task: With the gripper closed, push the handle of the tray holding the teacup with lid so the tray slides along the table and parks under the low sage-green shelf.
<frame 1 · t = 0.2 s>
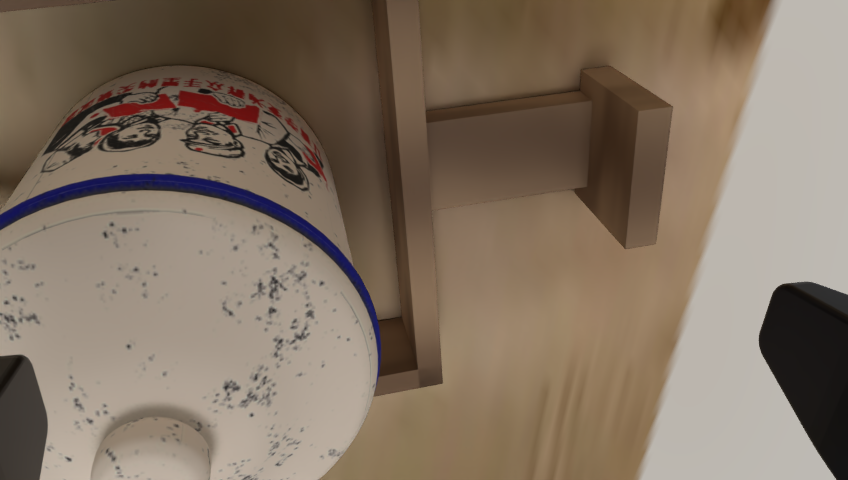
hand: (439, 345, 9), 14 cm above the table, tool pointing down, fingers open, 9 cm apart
tray: (256, 208, 21), point 2 cm above the table, slide at 0.0 cm
teacup with lid: (147, 191, 22), resting in tray
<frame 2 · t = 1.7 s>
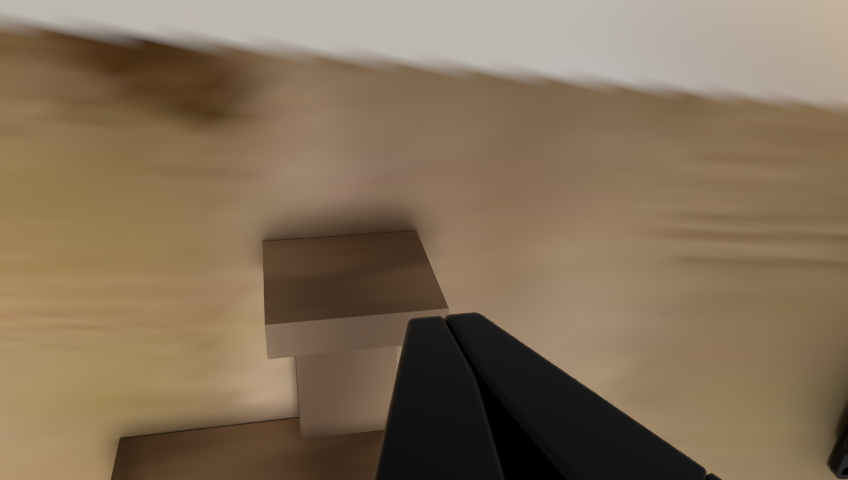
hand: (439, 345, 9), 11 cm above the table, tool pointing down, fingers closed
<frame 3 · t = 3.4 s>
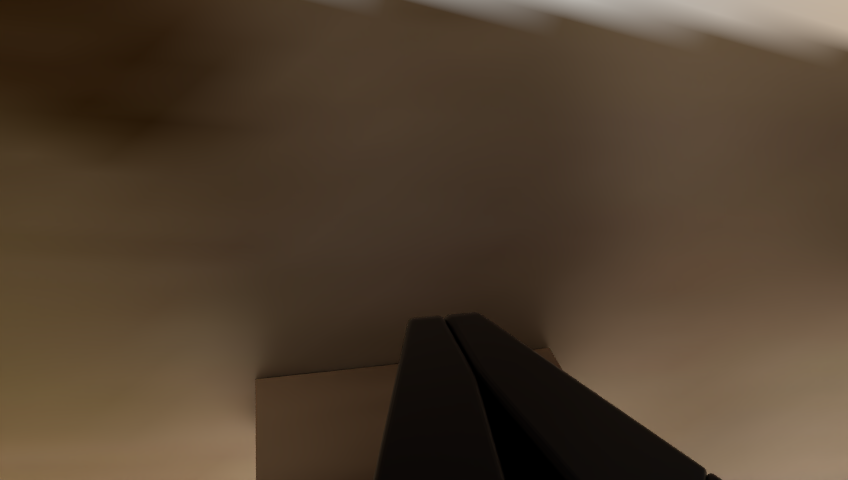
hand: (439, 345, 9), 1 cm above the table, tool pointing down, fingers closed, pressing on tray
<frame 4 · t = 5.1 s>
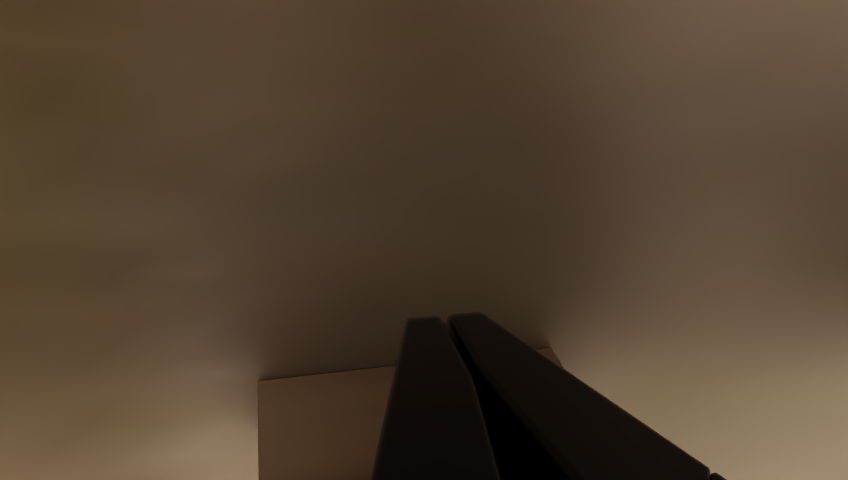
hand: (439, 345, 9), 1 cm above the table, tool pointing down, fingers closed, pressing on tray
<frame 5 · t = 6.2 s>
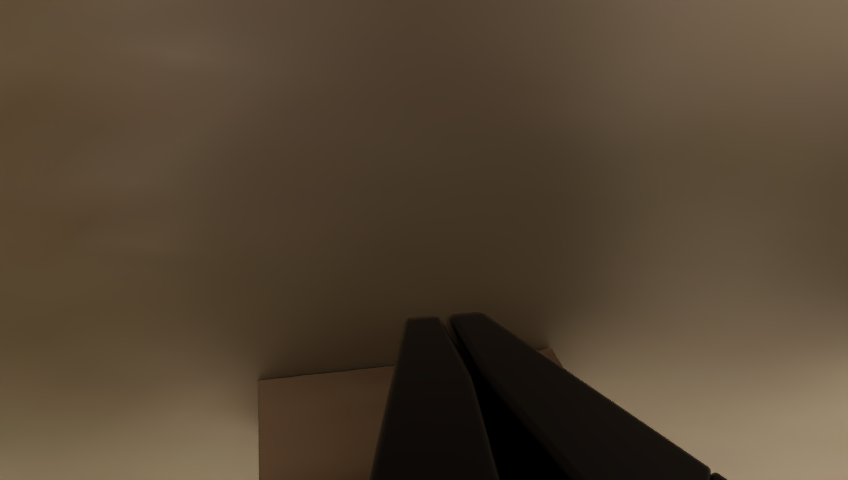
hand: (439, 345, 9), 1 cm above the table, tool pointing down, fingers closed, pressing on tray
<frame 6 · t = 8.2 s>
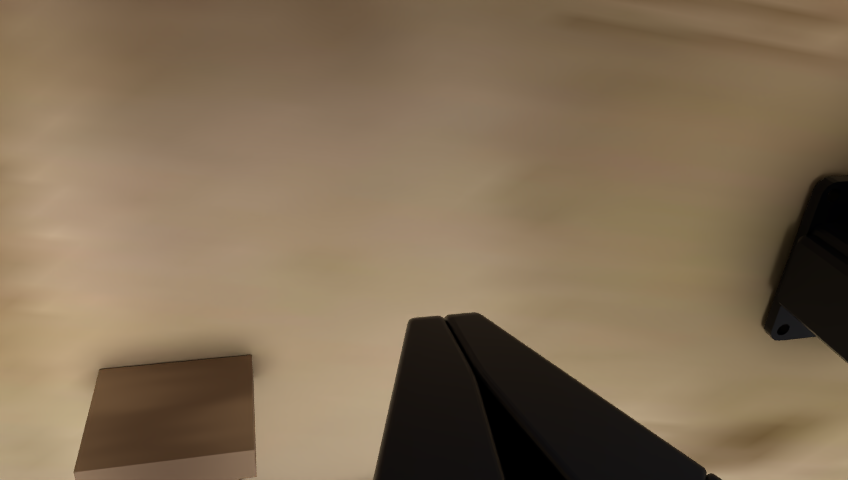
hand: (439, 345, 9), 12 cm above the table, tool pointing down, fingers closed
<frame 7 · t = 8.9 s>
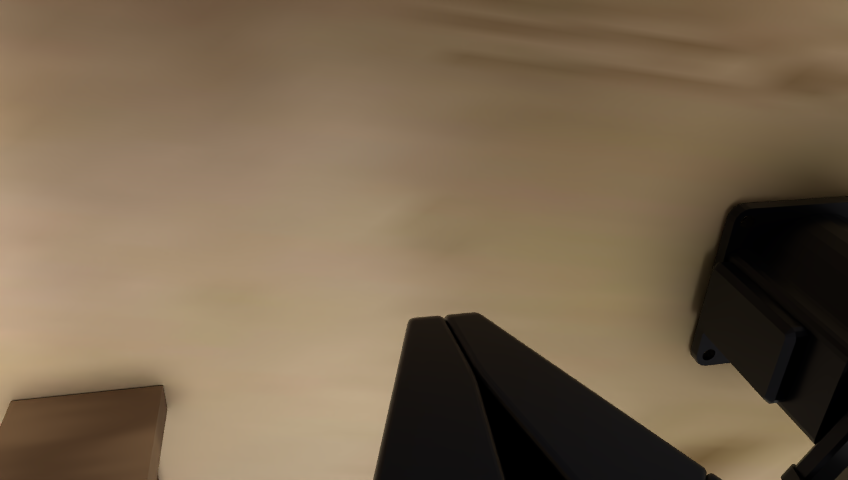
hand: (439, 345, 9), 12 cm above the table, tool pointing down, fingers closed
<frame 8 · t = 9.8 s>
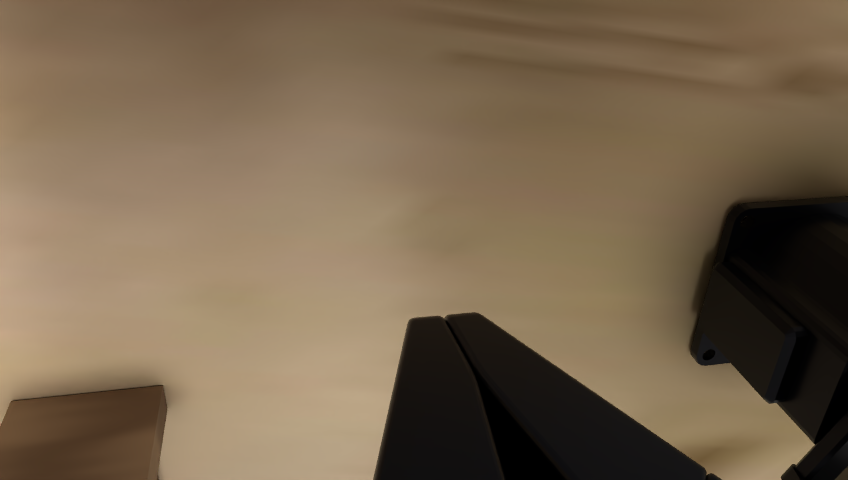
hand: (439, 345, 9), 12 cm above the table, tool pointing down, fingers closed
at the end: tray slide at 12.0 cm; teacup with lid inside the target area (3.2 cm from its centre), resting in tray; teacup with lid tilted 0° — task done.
